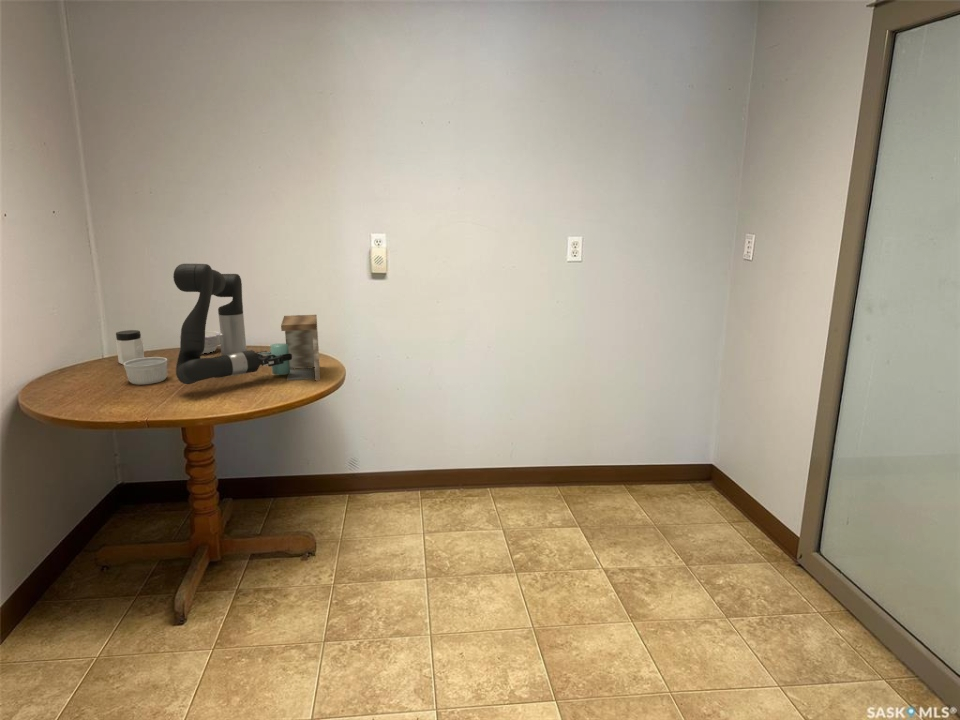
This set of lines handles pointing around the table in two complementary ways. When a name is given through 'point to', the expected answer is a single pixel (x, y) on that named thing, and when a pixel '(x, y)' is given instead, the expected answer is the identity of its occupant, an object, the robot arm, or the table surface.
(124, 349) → the jar
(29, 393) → the table surface
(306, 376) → the mat
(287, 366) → the teal cylinder
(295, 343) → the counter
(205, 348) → the paper bowls
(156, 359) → the ramekin
